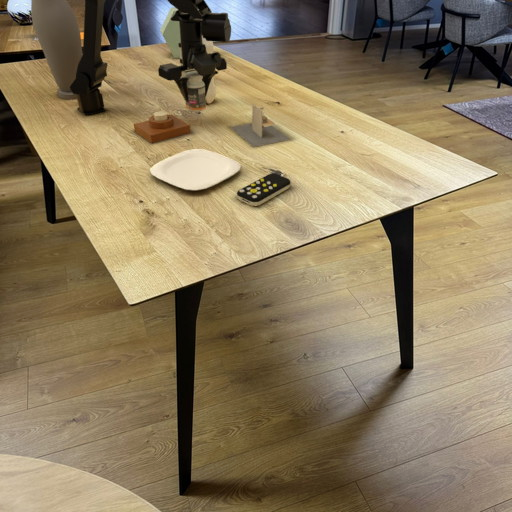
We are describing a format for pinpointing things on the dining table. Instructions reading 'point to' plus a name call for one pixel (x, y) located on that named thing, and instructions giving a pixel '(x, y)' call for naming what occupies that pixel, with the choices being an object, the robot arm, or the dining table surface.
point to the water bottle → (212, 89)
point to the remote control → (263, 189)
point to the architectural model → (259, 130)
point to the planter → (172, 33)
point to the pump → (160, 116)
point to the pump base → (161, 128)
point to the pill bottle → (195, 92)
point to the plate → (195, 169)
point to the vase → (58, 41)
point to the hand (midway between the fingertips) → (195, 98)
